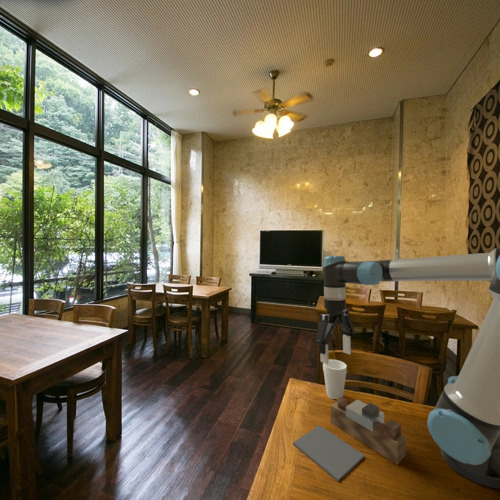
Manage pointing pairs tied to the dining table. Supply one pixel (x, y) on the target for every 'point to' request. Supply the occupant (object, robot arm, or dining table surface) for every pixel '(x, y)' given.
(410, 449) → the dining table surface
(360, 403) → the light grey block
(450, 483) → the dining table surface
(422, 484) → the dining table surface
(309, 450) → the rubber mat
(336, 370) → the foam cup
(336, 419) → the plane body
